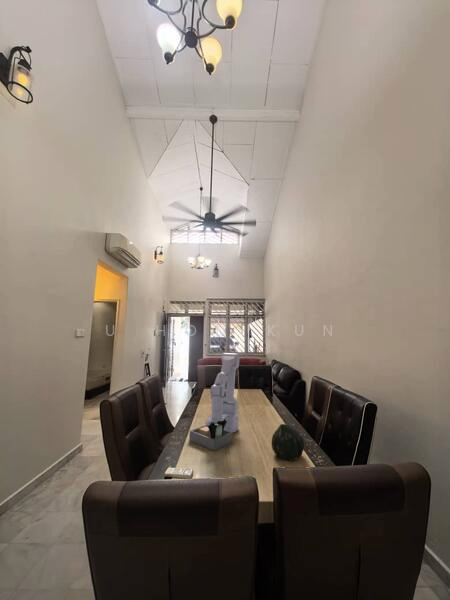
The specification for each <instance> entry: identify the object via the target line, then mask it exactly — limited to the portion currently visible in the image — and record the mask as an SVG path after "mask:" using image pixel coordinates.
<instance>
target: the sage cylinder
mask: <svg viewBox="0 0 450 600" xmlns="http://www.w3.org/2000/svg"><path fill="white" fill-rule="evenodd" d="M214 424H215V425H217V428H216V434H215V439H217V438H219V437H221V436H222V425H220V424H217V423H214ZM212 439H213V438H212Z"/></svg>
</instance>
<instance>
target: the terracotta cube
mask: <svg viewBox="0 0 450 600" xmlns="http://www.w3.org/2000/svg"><path fill="white" fill-rule="evenodd" d="M199 434H202V435H204V436H207V437H209V438H211V435H210V431H209V428H208V427H203V428H200V429H199Z"/></svg>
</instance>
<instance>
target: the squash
mask: <svg viewBox="0 0 450 600" xmlns="http://www.w3.org/2000/svg"><path fill="white" fill-rule="evenodd" d="M271 448H272V450H273V452H274V455H276V456H277V457H278V458H280V459H281V458H282V460H284V461H288V460H290V461H291V462H292V461H295V460H296V459H298V458H300V457H302V455H303V452H304V449H305V441H304V439H303V436H302V435H301V434H300V432H298V430H297V429H296V428H294V427H292V426H290V425H288V424H285V423H281V424H280V425H279V426H278V427H277V428H276V430H275V431H274V433H273V434H272V437H271Z"/></svg>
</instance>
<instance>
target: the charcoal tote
mask: <svg viewBox="0 0 450 600" xmlns="http://www.w3.org/2000/svg"><path fill="white" fill-rule="evenodd" d="M203 427H208V426H207V425H206V424H205V425H202V426H199V427H196V428H194V429H191V430H189V442H191V443H193V444H195V445H198V446H200V447H203V448H206V449H207V450H210V451H212V452H217V451H218V450H220V449H222V448H224V447H227V446H228V445H231V444H233V433H232V432H229V431H226V430H223V434H222V436H221V437H219V438H217V439H212V438H209V437H207V436H204V435H202V434H199V429H200V428H203Z"/></svg>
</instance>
